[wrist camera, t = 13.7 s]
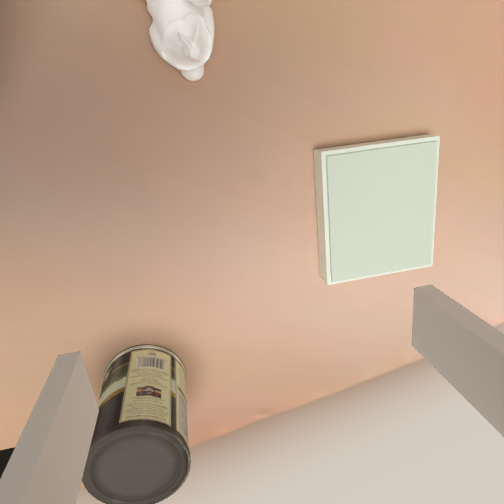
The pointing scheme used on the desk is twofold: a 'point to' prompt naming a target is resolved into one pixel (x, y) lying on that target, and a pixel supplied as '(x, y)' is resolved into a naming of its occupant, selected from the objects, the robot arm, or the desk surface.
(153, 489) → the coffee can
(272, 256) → the desk surface
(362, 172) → the tray
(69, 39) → the desk surface
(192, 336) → the desk surface
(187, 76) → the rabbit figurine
